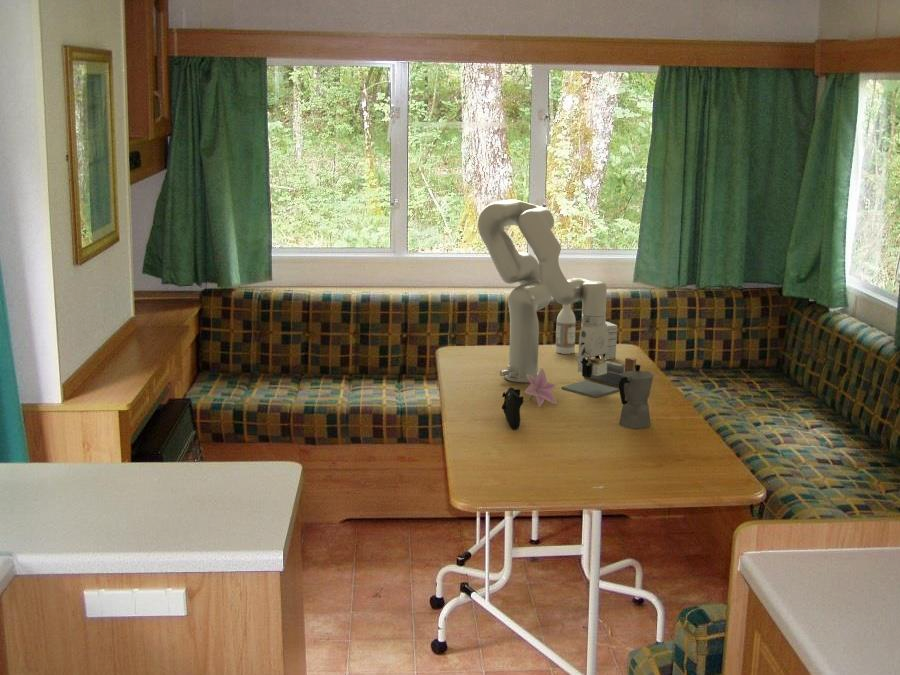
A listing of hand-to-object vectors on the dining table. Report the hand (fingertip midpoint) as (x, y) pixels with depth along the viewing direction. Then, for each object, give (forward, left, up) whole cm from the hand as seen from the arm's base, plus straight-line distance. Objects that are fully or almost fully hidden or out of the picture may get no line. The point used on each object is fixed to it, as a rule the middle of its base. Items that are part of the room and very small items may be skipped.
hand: (592, 374), depth 360 cm
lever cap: (0, 0, +1) cm, 1 cm away
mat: (0, 0, -5) cm, 5 cm away
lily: (-24, +1, -5) cm, 24 cm away
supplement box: (+36, +24, -5) cm, 44 cm away
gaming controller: (-45, -7, -5) cm, 46 cm away
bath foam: (+32, +38, -5) cm, 50 cm away
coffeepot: (-20, -32, -5) cm, 38 cm away
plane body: (+14, +2, -5) cm, 15 cm away
